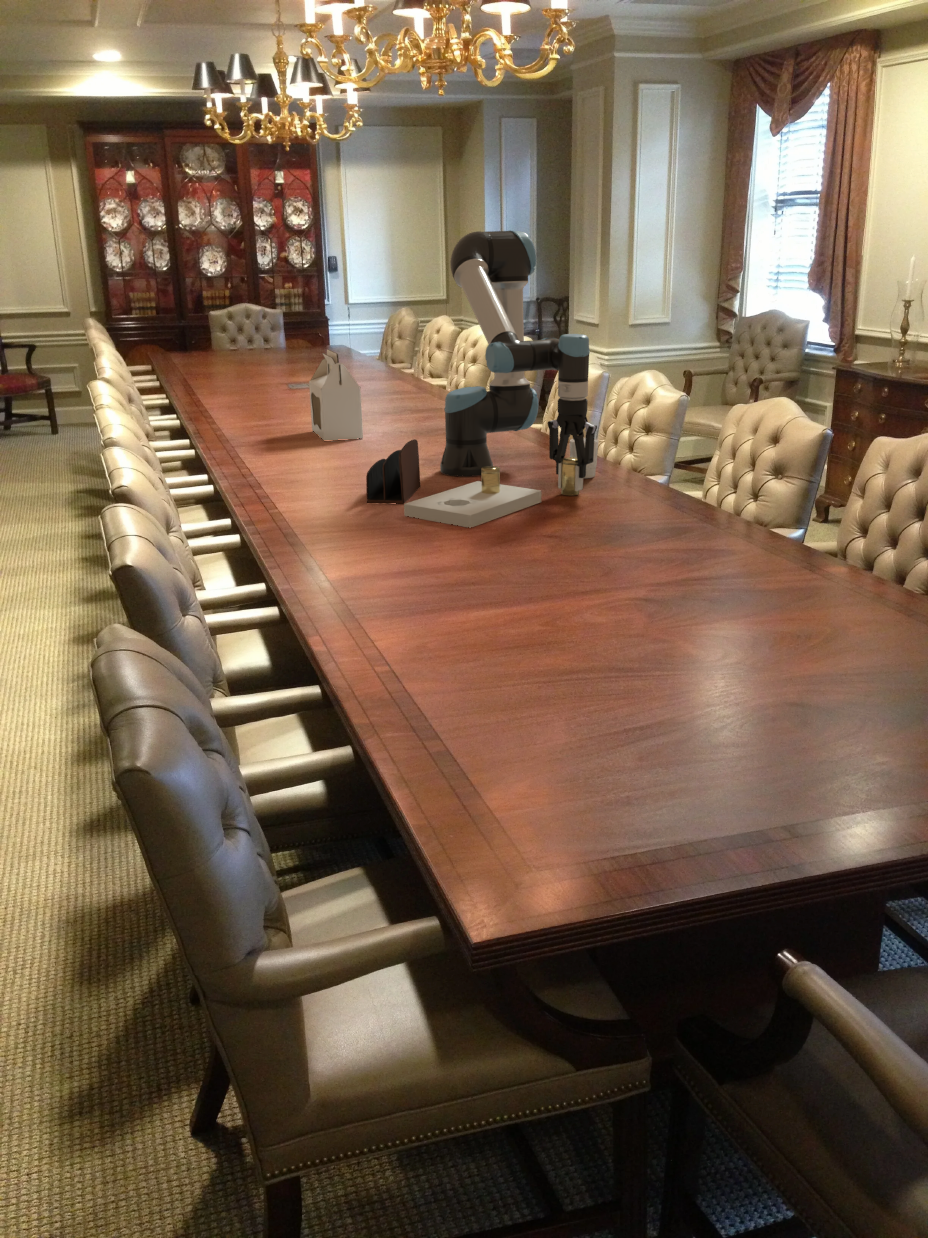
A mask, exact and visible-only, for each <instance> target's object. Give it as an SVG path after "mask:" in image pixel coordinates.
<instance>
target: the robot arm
mask: <svg viewBox="0 0 928 1238" xmlns="http://www.w3.org/2000/svg"><path fill="white" fill-rule="evenodd" d="M450 255H451V256H450V263H449V264H450V271H451V275H452V277H453V280H454V282H455V284H456V285H457V286H458V287H460V288H462V290H463V293H464V295H465V296H466V299H467V301H468V303H469V306H470V307H471V309H472V312H473V314H474V316H475V318H476V320H477V322H478V324H479V327H480V329H481V331H482V333H483V335H484V339H486V343H487V344H488V345H487V347H486V349H485V356H484V357H485V360H486V367H487V368H488V370H489V371H490V372H492V373H494V375H493V376H494V377H493V379H492V380H491V381H490V383H489V386H488V387H489V389H488V391H487V388H486V387H485V386H465V387H461V388H460V387H459V388H458V389H457V388H456V389H454V390H451V391H449V392H448V393H447V394H446V396H445V399H444V401H445V403H444V418H445V419H444V421H445V447H444V451H443V454H442V456H441V457H442V458H441V461H440V466H439V469H440V470H439V471H440V473H441V474H443V475H445V476H451V477H478V476H481V468H482V467H486V466H494V463H493V460H492V457H491V454H490V450H489V447H488V443H487V441H488V440H487V439H488V438H487V437H488V436H487V434H489V433H490V434H492V433H502V432H503V433H504V432H511V431H513V432H518V431H521V430H522V431H523V430H527V429H529V428H531V427H532V426H533V425H534V423H535V421H536V420H537V416H538V414H539V413H538V412H539V398H538V393H537V391H536V390H535V389H534V388H532V387H531V382H530V380H528V379H527V378H526V375H525V372H529V371H530V372H532V371H533V372H534V371H549V370H555V371H558V373H557V374H558V378H557V382H558V383H557V396H558V397H559V398H558V399H557V413H558V414H557V417H556V419H552V420H549V421H547V427H548V430H549V434H548V435H549V439H548V440H549V441H548V442H549V445H548V447H549V451H548V453H549V454H548V455H549V459H550V460H553V461H555V473H556V475H558V476H557V477H558V479H557V480H558V481H557V488H558V489H562V459H563V458H566V454H567V453H566V452H567V449H568V444H569V441H570V440H569V438H570V437H571V436H572V439H574V441H575V447H576V453H577V459H578V464H577V465H576V466H575V491H579V492H580V491H581V490H583V488H584V479H585V478H584V477H585V476H586V465H587V464H590V463H592V462H593V457H594V439H595V436H596V435H595V434H596V431H597V430H598V425H596V424H592V423H590V422H588V421H589V420H588V418H587V417H588V416H587V414H588V403H589V402H588V399H587V397H588V396H589V370H590V369H589V368H590V352H591V349H590V338H589V336H588V335H586V334H583V333H581V334H580V333H567V334H566V333H565V334H561V335H560V336H559V338H556V337H544V338H542V339H537V340H525V336H524V335H525V331H524V329H525V328H524V327H525V326H524V288H525V286H526V285H527V284H528V283H529V277H530V276H531V275H532V274H533V273H534V272H535V269H536V266H537V254H536V248H535V245H534V242H533V240H532V238H531V236H530V235H528V234H527V233H526V232H524V231H518V230H495V231H494V230H490V231H481V230H479V231H471V232H469V233H467V234H465V235H464V236H462V237H461V238H460V239H459V240H458V241H457V242H456V244H455V245H454V248H453V250H452V252H451V254H450ZM559 428H560V432H559ZM584 431H585V432H584ZM584 433H585V434H584ZM583 438H585V446H584V439H583Z"/></svg>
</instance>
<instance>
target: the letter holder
mask: <svg viewBox="0 0 928 1238" xmlns="http://www.w3.org/2000/svg"><path fill="white" fill-rule="evenodd" d="M418 442H419V441H418V440H417V439H414V438H413V439H411V440H409V441H407V442H406V443H405V444H404V445H403V446H402V448H401V449H397V450H395V451H393V452H392V453H390V454H389V456H387V458H381V459H379V460H377V461H376V462H375V463H374V464H373V465H372V466H371V467H370V468H369V469H368V470H367V473H366V475H365V476H366V477H365V478H366V480H365V481H366V485H365V486H366V493H365V494H366V504H367V503H396V504H395V505H404V503H407V501H409V499H410V498H411V497H412V496H413V495H414V494H416V492H417V491H419V489H420V488H421V486H422V485H421V471H420V470H421V469H420V458H419V457H420V455H419V443H418Z"/></svg>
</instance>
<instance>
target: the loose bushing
mask: <svg viewBox="0 0 928 1238" xmlns="http://www.w3.org/2000/svg"><path fill="white" fill-rule="evenodd" d="M577 464H578V459H577V458H575V457H570V456H568V457H565V458H563V459H562V488H561V495H564V496H571V497H572V496H577V495H580V490H579V491H575V466H576V465H577Z"/></svg>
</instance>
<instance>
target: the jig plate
mask: <svg viewBox="0 0 928 1238" xmlns="http://www.w3.org/2000/svg"><path fill="white" fill-rule="evenodd" d="M539 503H542V490H540V489H535V488H534V489H533V488H527V487H520V486H515V485H507V484H501V483H500V492H499V493H494V494H486V493H482V481H480V480H477V481H473V482H470V483H466V484H464V485H460V486H457V487H454V488H451V489H450V488H449V489H448V490H444V491H442V492H438V493H433V494H432V495H429V496H424V497H421V498H419V499H415V500H413V501H409V502H405V504H403V509H404V511H403V513H404V517H407V516H409V518H413V517H415V518H414V519H418V518H419V519H420V520H425V521H429V522H436V523H440V522H441V523H442V524H446V525H451V524H453V525H452V526H457V525H458V527H464V528H468V527H469V529H471V527H472V528H474V527H477V526H479V525H482V524H486V523H488V522H490V521H492V520H497V519H499V518H501V517H504V516H506V515H510V514H513V513H515V512H518V511H520V510H524V509H526V508H529V507H532V506H534V505H537V504H539ZM441 523H440V524H441Z"/></svg>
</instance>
